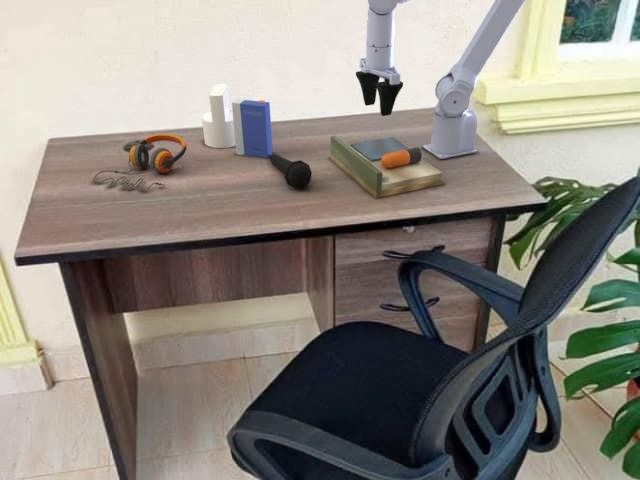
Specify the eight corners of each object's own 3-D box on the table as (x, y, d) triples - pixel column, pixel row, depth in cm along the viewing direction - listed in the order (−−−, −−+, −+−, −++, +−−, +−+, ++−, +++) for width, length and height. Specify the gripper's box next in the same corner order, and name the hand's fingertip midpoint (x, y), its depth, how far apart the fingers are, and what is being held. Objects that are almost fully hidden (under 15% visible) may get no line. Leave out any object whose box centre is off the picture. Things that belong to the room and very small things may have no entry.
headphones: (82, 172, 136) (137, 120, 147) (92, 193, 139) (145, 141, 151) (149, 186, 130) (201, 131, 141) (157, 207, 134) (207, 152, 145)
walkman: (272, 153, 149) (269, 100, 142) (267, 158, 147) (264, 104, 140) (241, 149, 152) (236, 97, 144) (236, 154, 149) (231, 101, 142)
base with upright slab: (240, 147, 153) (236, 95, 145) (202, 148, 153) (195, 96, 146) (244, 133, 160) (240, 83, 153) (207, 134, 160) (201, 84, 153)
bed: (391, 147, 151) (392, 125, 148) (442, 184, 135) (444, 160, 132) (330, 159, 146) (330, 136, 143) (376, 198, 130) (377, 173, 127)
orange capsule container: (418, 165, 138) (412, 153, 139) (423, 155, 135) (417, 143, 136) (382, 172, 135) (376, 160, 136) (386, 163, 133) (380, 151, 134)
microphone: (263, 172, 148) (297, 197, 132) (253, 149, 145) (286, 172, 129) (284, 161, 149) (320, 184, 133) (274, 138, 146) (310, 158, 129)
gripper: (347, 38, 140) (346, 102, 148) (379, 54, 129) (377, 122, 137) (376, 35, 143) (374, 98, 151) (410, 50, 132) (406, 117, 140)
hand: (377, 109), depth 144 cm, fingers open, 7 cm apart
